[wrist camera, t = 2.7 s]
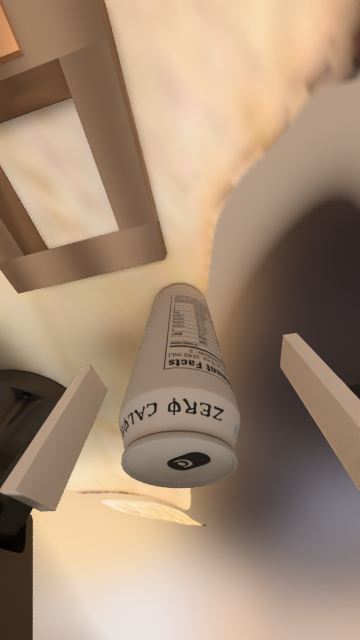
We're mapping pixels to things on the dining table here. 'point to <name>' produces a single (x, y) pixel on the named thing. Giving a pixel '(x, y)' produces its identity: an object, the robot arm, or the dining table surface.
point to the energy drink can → (179, 398)
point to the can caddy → (100, 129)
